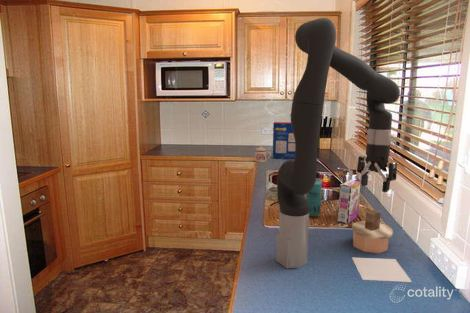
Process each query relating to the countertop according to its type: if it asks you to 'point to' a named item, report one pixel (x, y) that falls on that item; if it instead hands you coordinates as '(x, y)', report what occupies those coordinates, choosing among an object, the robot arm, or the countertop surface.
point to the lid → (372, 226)
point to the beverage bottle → (315, 197)
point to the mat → (380, 269)
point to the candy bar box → (348, 201)
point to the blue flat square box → (283, 141)
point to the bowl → (370, 244)
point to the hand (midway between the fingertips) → (374, 188)
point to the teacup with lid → (261, 154)
